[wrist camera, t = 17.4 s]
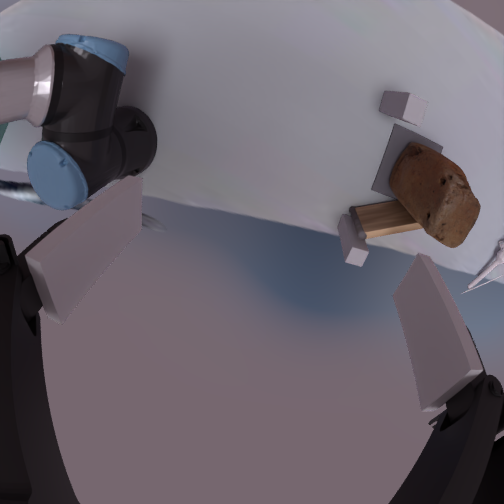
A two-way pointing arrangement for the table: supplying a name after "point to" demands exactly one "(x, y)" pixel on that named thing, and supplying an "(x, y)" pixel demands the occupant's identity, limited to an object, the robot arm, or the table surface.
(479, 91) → the table surface
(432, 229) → the brown oblong lump
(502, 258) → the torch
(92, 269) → the robot arm
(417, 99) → the door frame
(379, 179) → the mat
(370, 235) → the door
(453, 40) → the table surface
